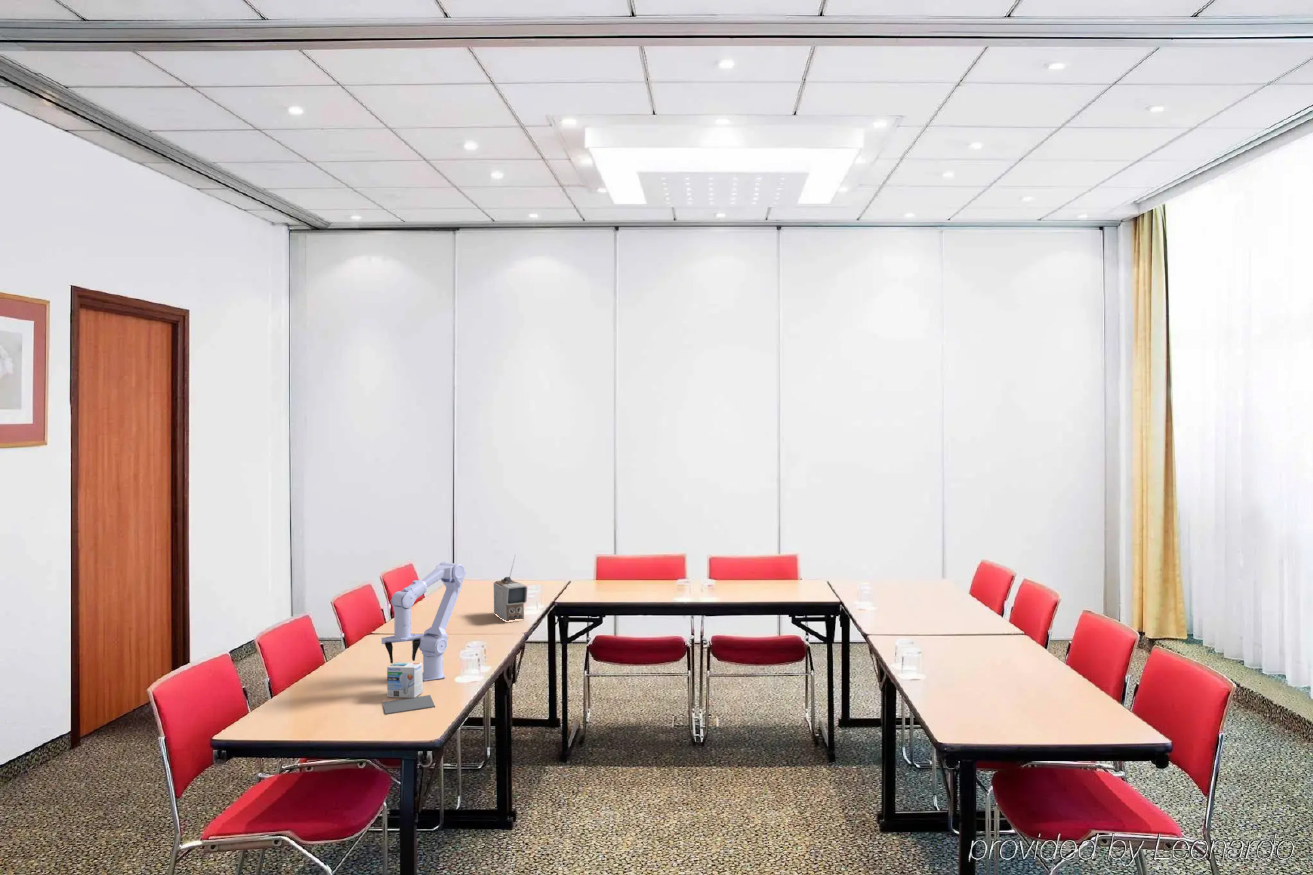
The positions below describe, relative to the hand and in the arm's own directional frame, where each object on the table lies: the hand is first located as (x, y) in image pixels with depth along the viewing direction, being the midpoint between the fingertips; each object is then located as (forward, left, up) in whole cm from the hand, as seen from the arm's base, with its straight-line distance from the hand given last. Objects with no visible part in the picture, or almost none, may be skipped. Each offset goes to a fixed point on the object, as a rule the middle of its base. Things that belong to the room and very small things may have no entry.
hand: (402, 661), depth 283 cm
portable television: (-87, +61, -10) cm, 107 cm away
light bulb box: (+8, 0, -10) cm, 13 cm away
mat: (+19, 0, -10) cm, 21 cm away
